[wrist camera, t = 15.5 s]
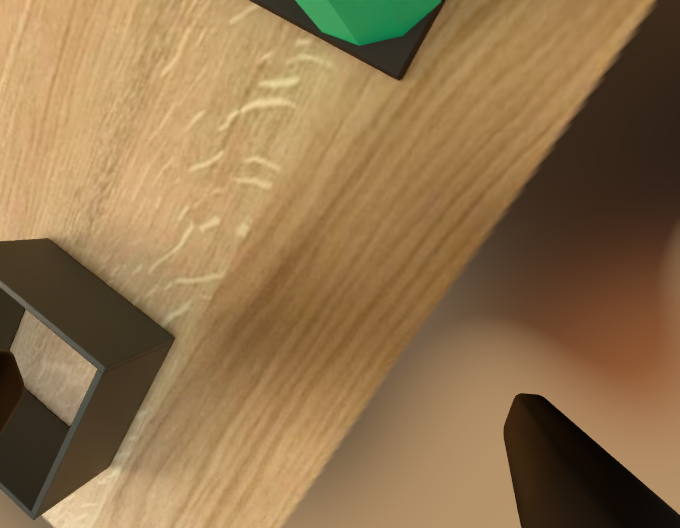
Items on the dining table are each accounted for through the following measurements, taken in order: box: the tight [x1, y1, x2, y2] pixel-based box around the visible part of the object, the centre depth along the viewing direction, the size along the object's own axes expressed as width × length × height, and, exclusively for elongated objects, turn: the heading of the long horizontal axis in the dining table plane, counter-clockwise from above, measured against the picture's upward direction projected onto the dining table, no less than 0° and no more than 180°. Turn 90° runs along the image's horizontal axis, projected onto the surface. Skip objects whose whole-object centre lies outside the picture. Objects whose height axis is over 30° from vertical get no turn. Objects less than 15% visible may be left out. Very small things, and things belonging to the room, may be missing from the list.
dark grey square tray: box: [0, 238, 174, 520], centre depth 20 cm, size 9×9×4 cm
